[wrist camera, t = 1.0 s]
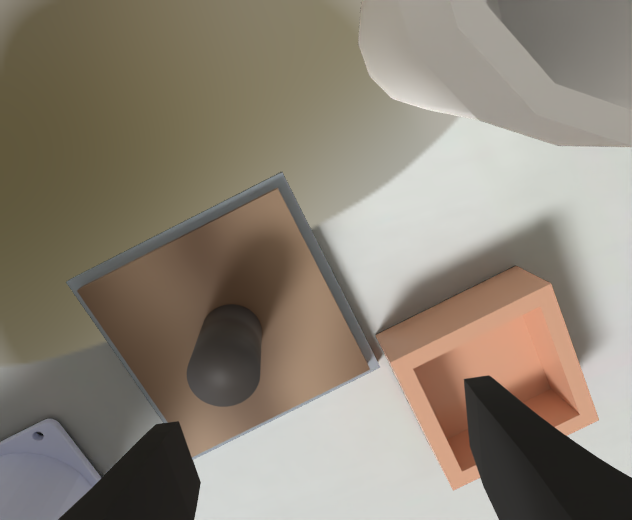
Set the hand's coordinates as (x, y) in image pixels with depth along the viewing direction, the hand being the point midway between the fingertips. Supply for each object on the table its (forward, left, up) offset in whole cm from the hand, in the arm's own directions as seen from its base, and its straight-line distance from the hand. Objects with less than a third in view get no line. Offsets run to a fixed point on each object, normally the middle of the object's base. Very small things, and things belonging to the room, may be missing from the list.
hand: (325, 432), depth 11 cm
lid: (-4, 0, -11) cm, 11 cm away
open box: (+6, -8, -11) cm, 15 cm away
